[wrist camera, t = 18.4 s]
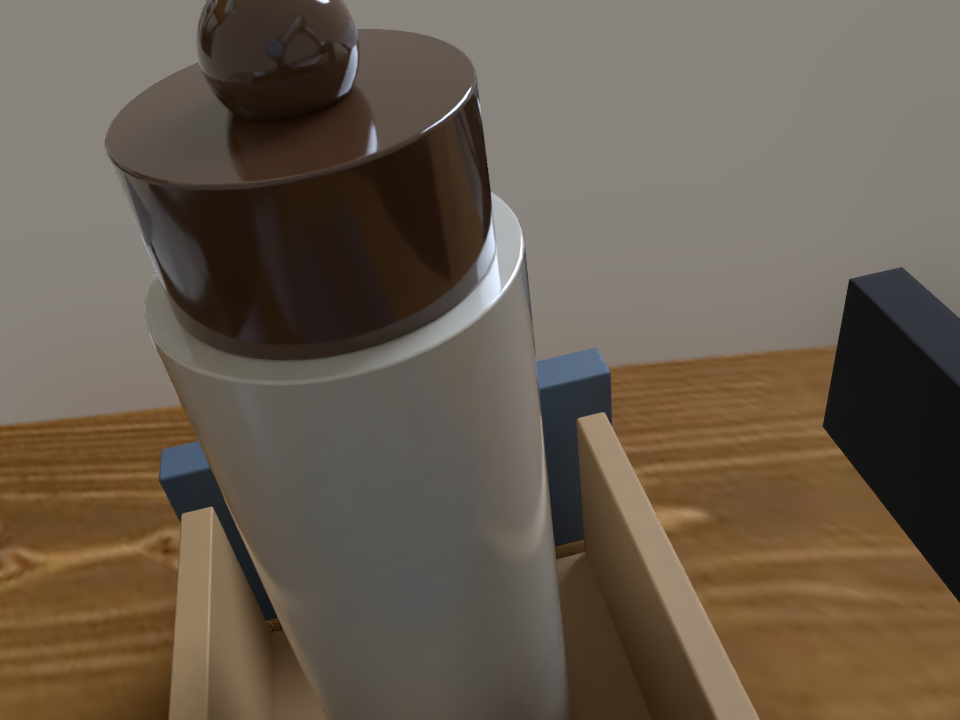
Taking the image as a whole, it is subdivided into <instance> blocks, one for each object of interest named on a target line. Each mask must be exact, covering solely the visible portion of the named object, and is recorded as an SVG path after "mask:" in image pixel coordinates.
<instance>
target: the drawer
mask: <svg viewBox="0 0 960 720" xmlns="http://www.w3.org/2000/svg"><path fill="white" fill-rule="evenodd" d="M536 363H537V373H538V383H539V393H540V403H541V413H542V423H543V433H544V443H545V453H546V463H547V473H548V483H549V493H550V503H551V513H552V523H553V533H554V543H555V547H556V546H560V545H564V544H567V543H571V542H575V541H579V540H583V539H584V543H585V552H583V553H579V554H575V555H571V556H567V557H563V558H559V559H556V563H557V573H558V583H559V593H560V603H561V613H562V623H563V633H564V643H565V653H566V663H567V673H568V683H569V693H570V703H571V713H572V720H760V719H759V717H758V715H757V713H756V711H755V709H754V707H753V705H752V703H751V701H750V699H749V697H748V695H747V693H746V691H745V689H744V687H743V685H742V683H741V681H740V679H739V677H738V675H737V674H736V672H735V670H734V668H733V666H732V664H731V662H730V660H729V658H728V656H727V654H726V652H725V650H724V648H723V646H722V644H721V642H720V640H719V638H718V636H717V634H716V632H715V630H714V628H713V626H712V624H711V622H710V620H709V618H708V616H707V614H706V612H705V610H704V608H703V606H702V604H701V602H700V600H699V598H698V596H697V594H696V592H695V590H694V588H693V586H692V584H691V582H690V580H689V578H688V576H687V574H686V572H685V570H684V568H683V566H682V565H681V563H680V561H679V559H678V557H677V555H676V553H675V551H674V549H673V547H672V545H671V543H670V541H669V539H668V537H667V535H666V533H665V531H664V529H663V527H662V525H661V523H660V521H659V519H658V517H657V515H656V513H655V511H654V509H653V507H652V505H651V503H650V501H649V499H648V497H647V495H646V493H645V491H644V489H643V487H642V485H641V483H640V481H639V479H638V477H637V475H636V473H635V471H634V469H633V467H632V465H631V463H630V461H629V459H628V458H627V456H626V454H625V452H624V450H623V448H622V446H621V444H620V442H619V440H618V438H617V436H616V434H615V432H614V430H613V428H612V406H611V373H610V371H609V369H608V367H607V365H606V364H605V362H604V360H603V358H602V356H601V354H600V353H599V351H598V349H597V348H593V349H589V350H585V351H580V352H576V353H572V354H567V355H563V356H559V357H555V358H551V359H546V360H542V361H538V362H536ZM159 482H160V484H161V486H162V488H163V490H164V492H165V493H166V495H167V497H168V499H169V501H170V503H171V505H172V507H173V509H174V511H175V513H176V515H177V517H178V519H179V521H180V523H181V530H180V546H179V562H178V577H177V593H176V608H175V624H174V640H173V655H172V671H171V686H170V702H169V718H168V720H324V719H323V717H322V715H321V713H320V711H319V708H318V706H317V704H316V702H315V699H314V697H313V695H312V693H311V691H310V688H309V686H308V684H307V682H306V680H305V677H304V675H303V673H302V671H301V668H300V666H299V664H298V662H297V660H296V657H295V655H294V653H293V651H292V649H291V646H290V644H289V642H288V640H287V637H286V635H285V633H284V631H283V630H280V631H277V632H273V633H271V630H270V628H269V626H268V624H267V622H266V621H268V620H271V619H275V618H277V615H276V613H275V611H274V609H273V606H272V604H271V602H270V600H269V598H268V595H267V593H266V591H265V589H264V587H263V584H262V582H261V580H260V578H259V575H258V573H257V571H256V569H255V567H254V564H253V562H252V560H251V558H250V556H249V553H248V551H247V549H246V547H245V544H244V542H243V540H242V538H241V536H240V533H239V531H238V529H237V527H236V525H235V522H234V520H233V518H232V516H231V513H230V511H229V509H228V507H227V505H226V502H225V500H224V498H223V496H222V494H221V491H220V489H219V487H218V485H217V482H216V480H215V478H214V476H213V474H212V471H211V469H210V467H209V465H208V463H207V460H206V458H205V456H204V454H203V451H202V449H201V447H200V445H199V443H198V442H193V443H189V444H185V445H181V446H176V447H172V448H168V449H164V450H162V453H161V463H160V474H159Z"/></svg>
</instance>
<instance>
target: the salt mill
mask: <svg viewBox="0 0 960 720" xmlns="http://www.w3.org/2000/svg"><path fill="white" fill-rule="evenodd" d="M196 50H197V58H198V62H199V63H196V64H194V65H191V66H189V67H187V68H185V69H183V70H180V71H178V72H176V73H174V74H172V75H170V76H168V77H166V78H164V79H163V80H161V81H159V82H157V83H155V84H154V85H152V86H151V87H149V88H147V89H146V90H144V91H143V92H141V93H140V94H139V95H137V96H136V97H135V98H134V99H132V100H131V101H130V102H128V103H127V104H126V105H125V106H124V107H123V108H122V109H121V110H120V111H119V113H117V115H116V116H115V117H114V119H113V120H112V122H111V123H110V125H109V128H108V130H107V132H106V138H105V149H106V154H107V157H108V159H109V162H110V164H111V166H112V169H113V171H114V173H115V176H116V178H117V181H118V183H119V185H120V188H121V190H122V192H123V195H124V197H125V200H126V202H127V204H128V206H129V209H130V212H131V214H132V216H133V219H134V221H135V223H136V226H137V228H138V230H139V233H140V235H141V238H142V240H143V242H144V245H145V247H146V250H147V252H148V254H149V257H150V259H151V261H152V264H153V266H154V269H155V271H156V272H155V274H154V276H153V278H152V280H151V282H150V284H149V286H148V290H147V294H146V298H145V313H144V317H145V321H146V325H147V330H148V332H149V334H150V336H151V338H152V341H153V343H154V345H155V347H156V350H157V352H158V354H159V356H160V358H161V361H162V363H163V365H164V367H165V369H166V372H167V374H168V376H169V378H170V381H171V383H172V385H173V387H174V389H175V391H176V394H177V396H178V398H179V400H180V403H181V405H182V407H183V409H184V412H185V414H186V416H187V418H188V420H189V423H190V425H191V427H192V429H193V432H194V434H195V436H196V438H197V440H198V443H199V445H200V447H201V449H202V451H203V454H204V456H205V458H206V460H207V463H208V465H209V467H210V469H211V471H212V474H213V476H214V478H215V480H216V482H217V485H218V487H219V489H220V491H221V494H222V496H223V498H224V500H225V502H226V505H227V507H228V509H229V511H230V513H231V516H232V518H233V520H234V522H235V525H236V527H237V529H238V531H239V533H240V536H241V538H242V540H243V542H244V544H245V547H246V549H247V551H248V553H249V556H250V558H251V560H252V562H253V564H254V567H255V569H256V571H257V573H258V575H259V578H260V580H261V582H262V584H263V587H264V589H265V591H266V593H267V595H268V598H269V600H270V602H271V604H272V606H273V609H274V611H275V613H276V615H277V618H278V620H279V622H280V624H281V626H282V629H283V631H284V633H285V635H286V637H287V640H288V642H289V644H290V646H291V649H292V651H293V653H294V655H295V657H296V660H297V662H298V664H299V666H300V668H301V671H302V673H303V675H304V677H305V680H306V682H307V684H308V686H309V688H310V691H311V693H312V695H313V697H314V699H315V702H316V704H317V706H318V708H319V711H320V713H321V715H322V717H323V719H324V720H572V713H571V703H570V693H569V683H568V673H567V663H566V653H565V643H564V633H563V623H562V613H561V603H560V593H559V583H558V573H557V563H556V553H555V543H554V533H553V523H552V513H551V503H550V493H549V483H548V473H547V463H546V453H545V443H544V433H543V423H542V413H541V403H540V393H539V383H538V373H537V363H536V353H535V344H534V333H533V323H532V313H531V304H530V293H529V283H528V274H527V263H526V253H525V244H524V235H523V231H522V228H521V226H520V223H519V220H518V219H517V218H516V216H515V215H514V213H513V211H512V210H511V209H510V207H509V206H508V205H507V204H505V202H504V201H503V200H502V199H500V198H499V197H498V196H496V195H495V194H493V193H492V192H491V189H490V181H489V172H488V164H487V156H486V148H485V140H484V132H483V124H482V116H481V108H480V99H479V91H478V83H477V75H476V70H475V68H474V65H473V63H472V61H471V60H470V59H469V57H468V56H467V55H466V54H465V53H464V52H463V51H461V50H460V49H459V48H457V47H456V46H454V45H452V44H450V43H448V42H446V41H443V40H440V39H437V38H434V37H431V36H427V35H423V34H418V33H411V32H405V31H395V30H382V29H381V30H379V29H357V27H356V23H355V21H354V18H353V16H352V13H351V12H350V10H349V8H348V6H347V4H346V3H345V1H344V0H205V2H204V4H203V6H202V8H201V11H200V14H199V18H198V21H197V28H196Z"/></svg>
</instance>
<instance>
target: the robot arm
mask: <svg viewBox="0 0 960 720" xmlns="http://www.w3.org/2000/svg"><path fill="white" fill-rule="evenodd" d="M823 427H824V429H825V430H826V431H827V433H828V434H829V435H830V437H831V438H832V439H833V440H834V442H835V443H836V444H837V446H838V447H839V448H840V449H841V451H842V452H843V453H844V455H845V456H846V457H847V458H848V460H849V461H850V462H851V464H852V465H853V466H854V467H855V469H856V470H857V471H858V473H859V474H860V475H861V476H862V478H863V479H864V480H865V482H866V483H867V484H868V485H869V487H870V488H871V489H872V491H873V492H874V493H875V494H876V496H877V497H878V498H879V500H880V501H881V502H882V503H883V505H884V506H885V507H886V509H887V510H888V511H889V512H890V514H891V515H892V516H893V518H894V519H895V520H896V521H897V523H898V524H899V525H900V527H901V528H902V529H903V530H904V532H905V533H906V534H907V536H908V537H909V538H910V539H911V541H912V542H913V543H914V545H915V546H916V547H917V548H918V550H919V551H920V552H921V554H922V555H923V556H924V557H925V559H926V560H927V561H928V563H929V564H930V565H931V566H932V568H933V569H934V570H935V572H936V573H937V574H938V575H939V577H940V578H941V579H942V581H943V582H944V583H945V584H946V586H947V587H948V588H949V590H950V591H951V592H952V593H953V595H954V596H955V597H956V599H957V600H958V601H959V602H960V318H958V317H957V316H956V315H955V314H954V313H953V312H952V311H951V310H950V309H948V308H947V307H946V306H945V305H944V304H943V303H942V302H941V301H939V300H938V299H937V298H936V297H935V296H934V295H933V294H932V293H931V292H929V291H928V290H927V289H926V288H925V287H924V286H923V285H922V284H920V283H919V282H918V281H917V280H916V279H915V278H914V277H912V276H911V275H910V274H909V273H908V272H907V271H906V270H905V269H904V268H902V267H901V268H896V269H892V270H887V271H883V272H879V273H874V274H870V275H866V276H861V277H857V278H853V279H849V284H848V290H847V295H846V301H845V306H844V312H843V318H842V323H841V328H840V334H839V339H838V345H837V350H836V356H835V362H834V367H833V373H832V378H831V384H830V389H829V395H828V400H827V406H826V411H825V417H824V423H823Z"/></svg>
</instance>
